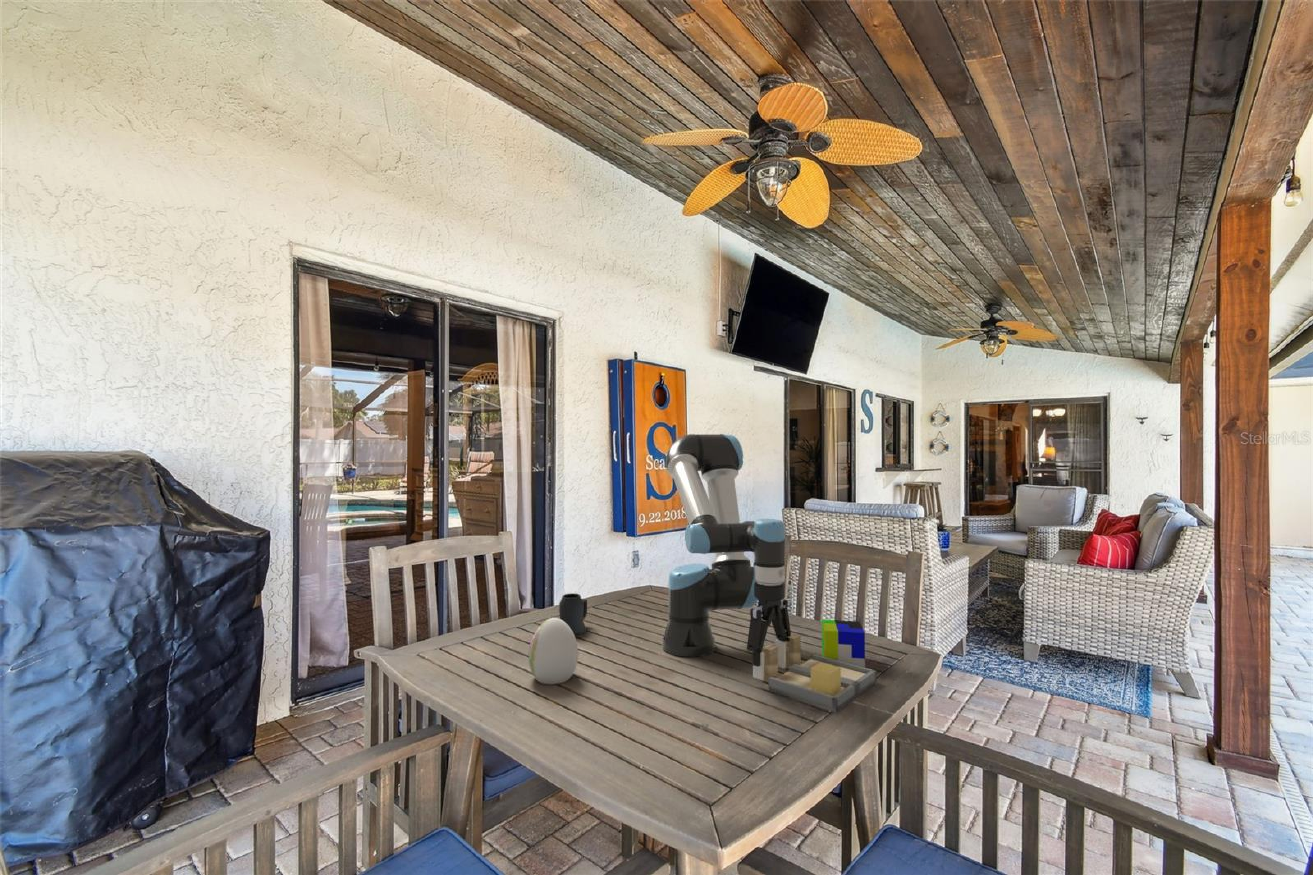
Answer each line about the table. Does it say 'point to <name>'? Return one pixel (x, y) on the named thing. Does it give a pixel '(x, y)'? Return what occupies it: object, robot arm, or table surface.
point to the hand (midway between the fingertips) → (769, 672)
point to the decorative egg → (553, 652)
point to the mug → (573, 612)
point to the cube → (826, 678)
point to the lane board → (851, 680)
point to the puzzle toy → (843, 641)
